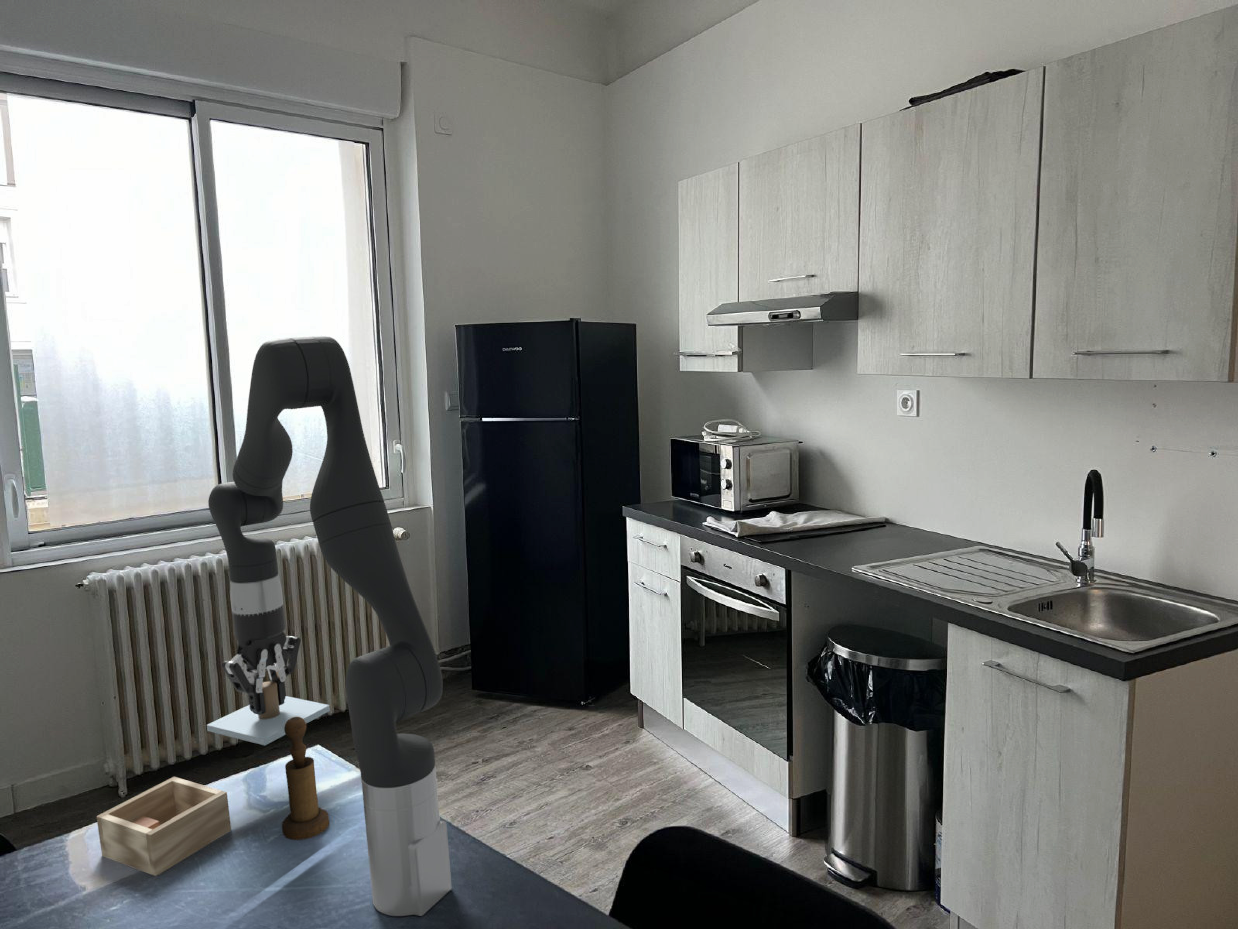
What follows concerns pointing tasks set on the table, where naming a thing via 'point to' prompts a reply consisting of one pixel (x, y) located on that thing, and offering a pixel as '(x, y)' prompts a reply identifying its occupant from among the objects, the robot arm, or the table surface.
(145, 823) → the block
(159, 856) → the box
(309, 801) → the mortar and pestle
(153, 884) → the table surface
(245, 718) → the lid
